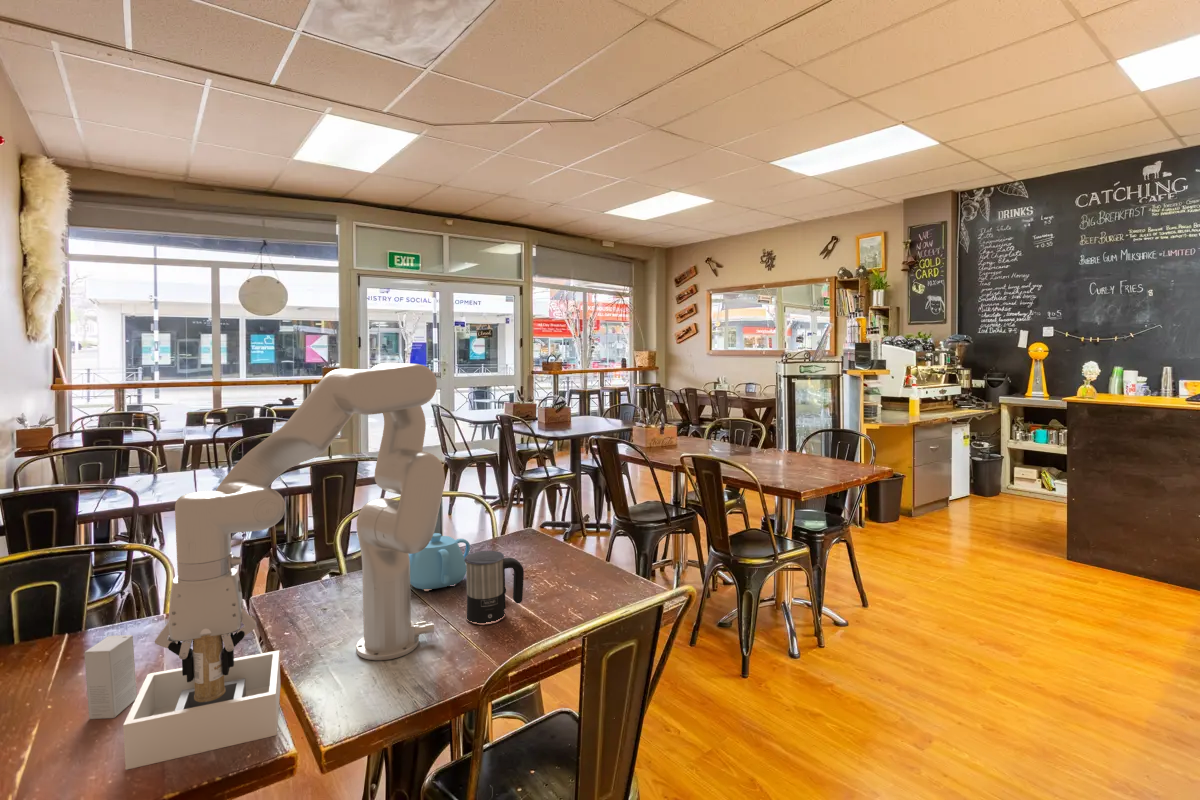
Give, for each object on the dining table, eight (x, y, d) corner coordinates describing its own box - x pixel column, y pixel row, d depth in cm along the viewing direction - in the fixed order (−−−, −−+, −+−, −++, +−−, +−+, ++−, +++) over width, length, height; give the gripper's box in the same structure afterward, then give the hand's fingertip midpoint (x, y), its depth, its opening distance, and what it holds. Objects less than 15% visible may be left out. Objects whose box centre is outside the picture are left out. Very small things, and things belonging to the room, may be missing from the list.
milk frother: (477, 630, 139) (477, 566, 138) (444, 608, 151) (444, 548, 150) (529, 613, 148) (529, 552, 147) (495, 593, 160) (494, 537, 159)
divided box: (280, 686, 115) (279, 650, 114) (277, 734, 100) (275, 693, 100) (149, 712, 106) (147, 673, 106) (125, 769, 92) (123, 725, 91)
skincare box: (112, 699, 110) (108, 635, 109) (137, 699, 110) (134, 634, 110) (87, 720, 104) (83, 651, 103) (113, 719, 104) (110, 650, 103)
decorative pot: (429, 570, 177) (428, 523, 176) (477, 577, 171) (477, 529, 170) (391, 590, 162) (390, 539, 160) (443, 599, 156) (442, 546, 155)
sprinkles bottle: (226, 698, 102) (223, 619, 101) (193, 706, 100) (190, 625, 99) (225, 685, 106) (222, 609, 105) (193, 693, 104) (190, 615, 103)
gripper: (264, 554, 108) (267, 654, 110) (147, 567, 101) (152, 674, 102) (262, 567, 101) (265, 674, 103) (136, 583, 94) (141, 697, 96)
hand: (208, 673), depth 103 cm, fingers closed on sprinkles bottle, 4 cm apart
